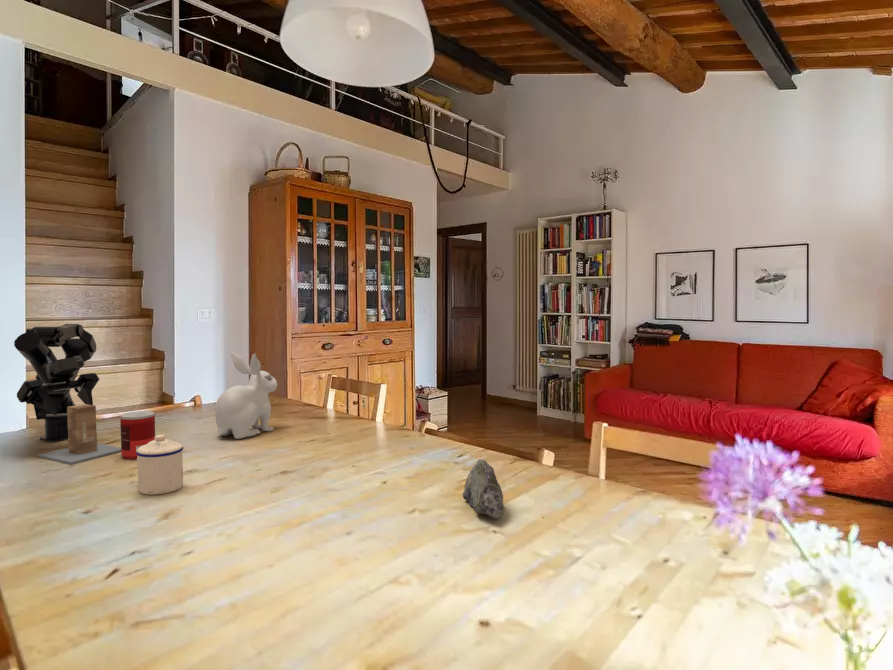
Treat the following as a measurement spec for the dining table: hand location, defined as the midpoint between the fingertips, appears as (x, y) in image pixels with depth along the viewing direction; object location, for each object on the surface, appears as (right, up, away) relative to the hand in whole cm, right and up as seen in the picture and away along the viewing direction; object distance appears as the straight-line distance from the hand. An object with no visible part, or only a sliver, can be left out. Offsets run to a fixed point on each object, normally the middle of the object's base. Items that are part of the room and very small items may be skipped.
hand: (74, 410), depth 149 cm
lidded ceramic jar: (+35, -13, -26) cm, 46 cm away
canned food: (+18, -12, -2) cm, 22 cm away
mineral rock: (+105, -15, -38) cm, 113 cm away
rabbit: (+38, -10, +22) cm, 45 cm away
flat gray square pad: (+3, -11, -1) cm, 12 cm away
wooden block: (+3, -11, -1) cm, 11 cm away
